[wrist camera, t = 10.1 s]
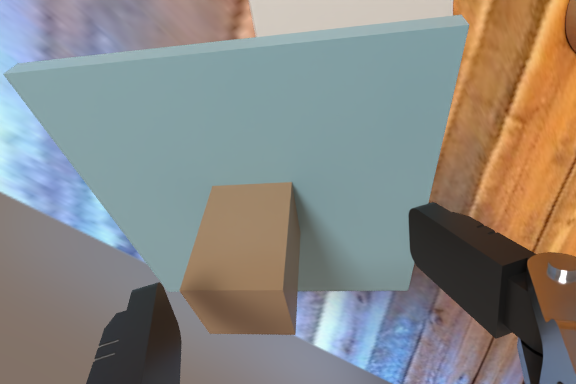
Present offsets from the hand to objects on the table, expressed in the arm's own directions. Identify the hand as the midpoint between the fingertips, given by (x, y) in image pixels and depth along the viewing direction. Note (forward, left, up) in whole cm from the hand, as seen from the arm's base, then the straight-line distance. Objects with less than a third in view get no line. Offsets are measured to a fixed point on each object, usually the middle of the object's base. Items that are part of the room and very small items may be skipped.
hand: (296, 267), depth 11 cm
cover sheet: (0, 0, -6) cm, 6 cm away
